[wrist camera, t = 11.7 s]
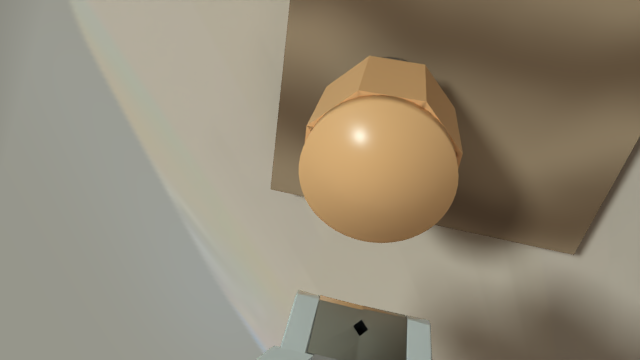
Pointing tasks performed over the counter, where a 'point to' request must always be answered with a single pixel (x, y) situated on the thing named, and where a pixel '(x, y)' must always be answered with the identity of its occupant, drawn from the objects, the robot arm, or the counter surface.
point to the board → (490, 99)
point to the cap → (381, 152)
